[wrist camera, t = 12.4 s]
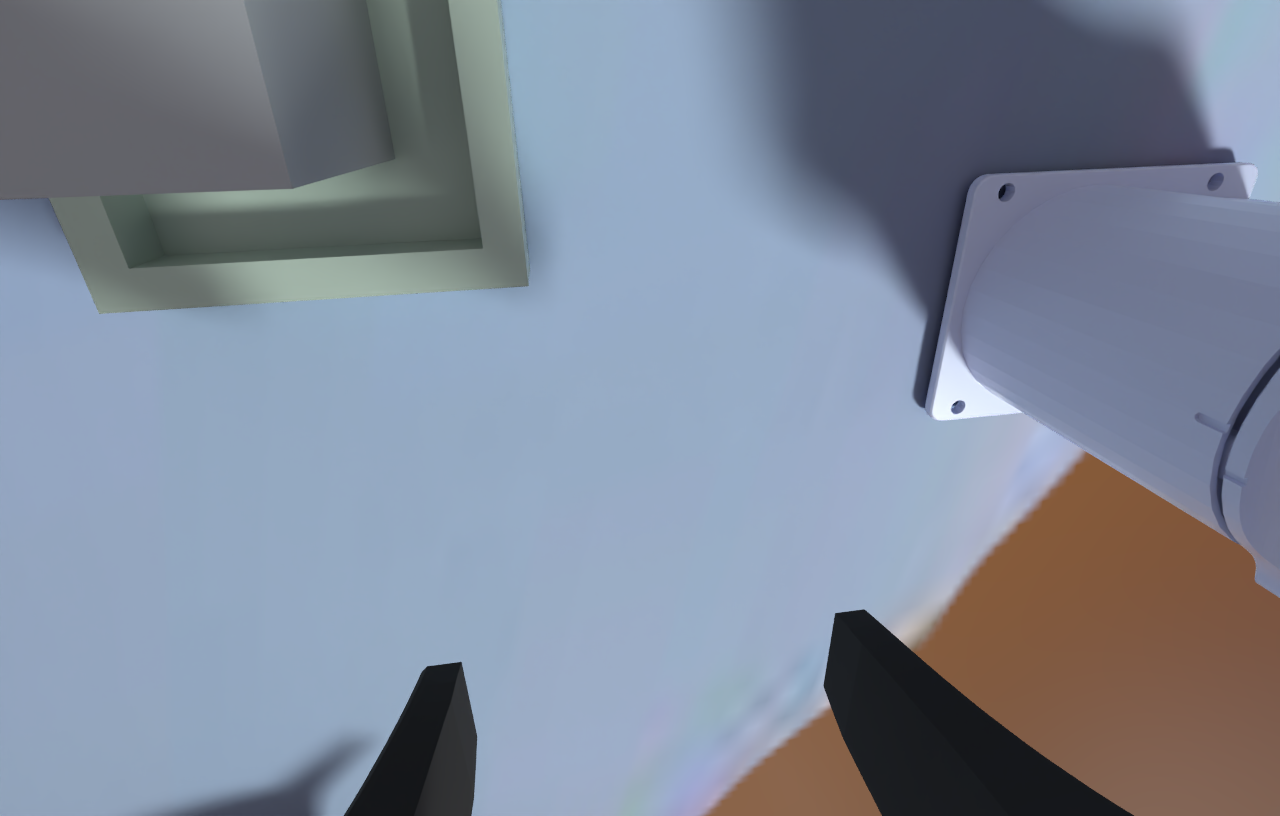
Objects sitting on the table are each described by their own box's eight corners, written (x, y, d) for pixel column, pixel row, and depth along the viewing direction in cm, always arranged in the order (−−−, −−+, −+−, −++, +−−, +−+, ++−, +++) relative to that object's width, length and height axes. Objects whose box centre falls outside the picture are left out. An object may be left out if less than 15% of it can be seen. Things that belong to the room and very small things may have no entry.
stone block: (359, -37, 13) (197, -174, 7) (395, 159, 15) (292, 188, 9) (161, -39, 13) (-199, -186, 7) (223, 164, 15) (-15, 200, 8)
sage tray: (478, -203, 13) (468, -255, 11) (529, 268, 17) (528, 286, 15) (-53, -220, 12) (-160, -282, 10) (148, 291, 16) (98, 313, 14)
